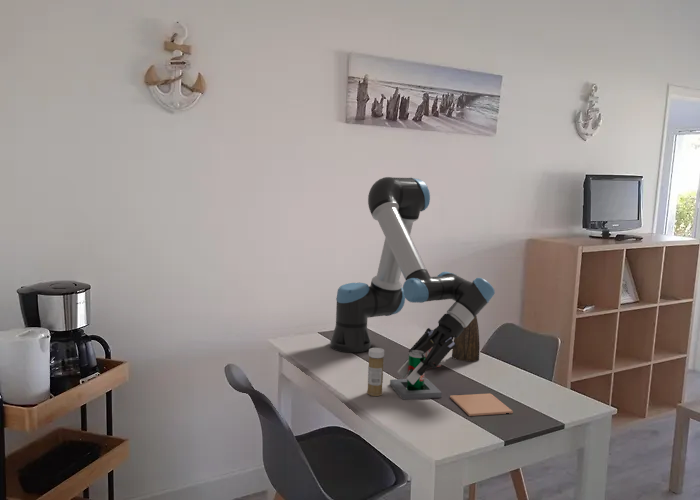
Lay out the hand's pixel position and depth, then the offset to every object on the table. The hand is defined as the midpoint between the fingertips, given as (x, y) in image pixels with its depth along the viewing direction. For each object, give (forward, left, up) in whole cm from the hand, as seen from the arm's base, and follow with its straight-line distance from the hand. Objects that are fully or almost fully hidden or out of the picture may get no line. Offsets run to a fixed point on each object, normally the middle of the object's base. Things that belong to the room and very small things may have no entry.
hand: (405, 378), depth 170 cm
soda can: (-1, +4, -4) cm, 6 cm away
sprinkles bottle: (0, -9, -4) cm, 10 cm away
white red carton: (-22, +17, -5) cm, 28 cm away
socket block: (-1, +4, -4) cm, 6 cm away
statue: (-28, +33, -4) cm, 43 cm away
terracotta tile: (+12, +19, -4) cm, 23 cm away
